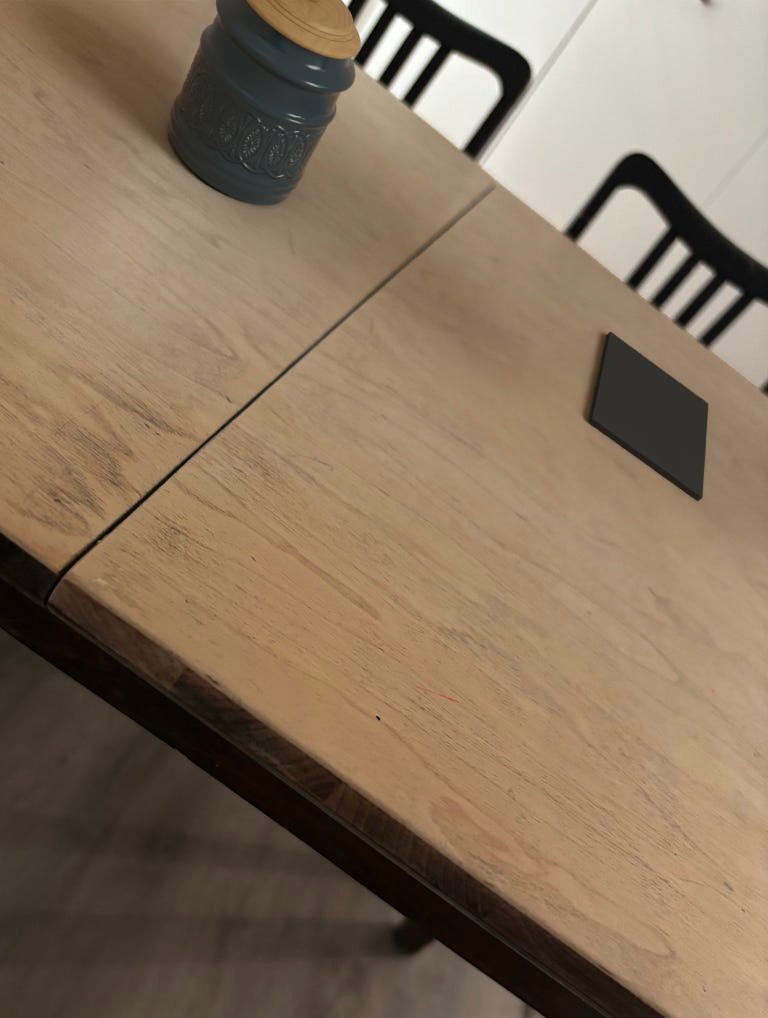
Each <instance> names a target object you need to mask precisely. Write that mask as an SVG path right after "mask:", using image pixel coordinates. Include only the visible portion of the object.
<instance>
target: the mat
mask: <svg viewBox="0 0 768 1018" xmlns="http://www.w3.org/2000/svg"><path fill="white" fill-rule="evenodd" d="M590 407H591V408H590V412H589V416H588V423H589V424H590V425H591V426H593V427H594V428H596V429H597V430H598V431H600V432H601V433H603V434H604V435H605V436H607V437H608V438H610V439H611V440H612V441H614V442H615V443H616V444H618V445H619V446H621V447H622V448H624V449H625V450H627V451H628V452H629V453H630V454H632V455H633V456H634V457H636V458H638V459H639V460H640V461H641V462H643V463H644V464H646V465H647V464H648V465H647V466H649V467H650V466H651V467H650V468H652V467H653V468H652V469H653V470H654V469H655V470H654V471H656V470H657V471H656V472H657V473H658V474H660V473H661V474H662V475H661V474H660V475H661V476H663V477H664V478H665V479H667V480H668V481H669V482H671V483H673V485H675V486H676V487H678V488H679V489H681V490H682V491H683V492H685V493H686V494H688V495H689V496H690V497H692V498H694V499H695V500H696V501H697V502H699V501H700V500H702V499H703V497H704V484H705V483H704V482H705V465H706V448H707V432H708V418H709V417H708V415H709V403H708V402H707V401H706V400H705V399H703V398H702V397H700V396H699V395H698V394H696V393H695V392H693V391H692V390H691V389H690V388H688V387H686V386H685V385H684V384H683V383H681V382H680V381H679V380H677V379H675V377H673V376H672V375H671V374H669V373H667V372H666V371H665V370H664V369H662V368H661V367H660V366H658V365H657V364H656V363H654V362H653V361H651V360H650V359H649V358H647V357H646V356H645V355H643V354H642V353H641V352H639V351H638V350H636V348H634V347H632V346H631V345H630V344H628V343H627V342H625V340H623V339H622V338H621V337H619V336H618V335H616V334H615V333H613V332H612V331H609V332H608V333H607V334H606V336H605V340H604V346H603V350H602V356H601V360H600V365H599V370H598V375H597V380H596V384H595V388H594V393H593V398H592V403H591V406H590Z"/></svg>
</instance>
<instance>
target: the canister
mask: <svg viewBox="0 0 768 1018" xmlns="http://www.w3.org/2000/svg"><path fill="white" fill-rule="evenodd" d="M215 8H216V15H215V17H214V19H213V21H212V23H211V24H208V25H207V26H205V28H204V29H203V30H202V32H201V34H200V38H199V44H198V47H197V50H196V52H195V55H194V57H193V60H192V62H191V65H190V67H189V69H188V72H187V75H186V77H185V79H184V81H183V84H182V86H181V88H180V91H179V92H178V93H177V95H176V96H175V98H174V100H173V103H172V106H171V108H170V112H169V121H168V125H167V134H168V138H169V141H170V143H171V145H172V147H173V149H174V151H175V152H176V154H177V156H178V157H179V159H181V160H182V161H183V163H184V164H185V166H187V167H188V168H189V169H190V170H191V171H192V172H193V173H194V174H195V175H197V176H198V177H199V178H200V179H201V180H203V181H204V182H206V183H207V184H208V185H210V186H212V187H213V188H214V189H216V190H218V191H219V192H222V193H224V195H228V196H229V197H232V198H234V199H237V200H239V201H243V202H245V203H248V204H255V205H261V206H269V205H276V204H280V203H282V202H284V201H285V200H287V198H288V197H289V196H290V194H291V193H292V192H293V191H295V189H296V188H297V187H298V186H299V183H300V181H301V180H302V179H303V177H304V174H305V171H306V167H307V165H308V163H309V161H310V159H311V158H312V155H313V154H314V152H315V150H316V148H317V146H318V145H319V143H320V142H321V140H322V138H323V136H324V133H325V132H326V131H327V128H328V127H329V125H330V124H331V123H332V122H333V121H334V120H335V117H336V114H337V102H338V100H339V97H340V95H341V93H343V92H346V91H348V90H349V89H350V88H351V87H352V86H353V85H354V83H355V81H356V68H355V64H354V61H353V59H352V58H354V57H355V56H356V55H358V54H359V52H360V50H361V47H362V40H361V35H360V33H359V31H358V29H357V27H356V25H355V24H354V19H353V18H354V17H353V15H352V13H351V11H350V10H349V8H348V6H347V5H346V4H345V2H344V1H343V0H215Z"/></svg>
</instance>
